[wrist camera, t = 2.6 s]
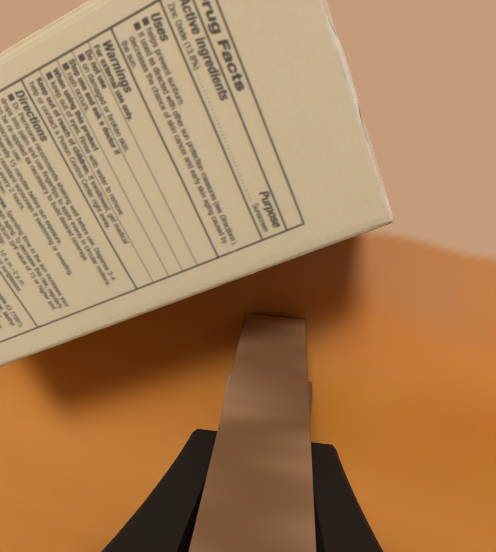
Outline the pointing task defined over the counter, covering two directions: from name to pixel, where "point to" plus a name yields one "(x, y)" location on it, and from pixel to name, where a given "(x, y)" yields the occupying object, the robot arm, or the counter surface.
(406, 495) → the counter surface
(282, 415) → the brown piece
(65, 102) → the skincare box
